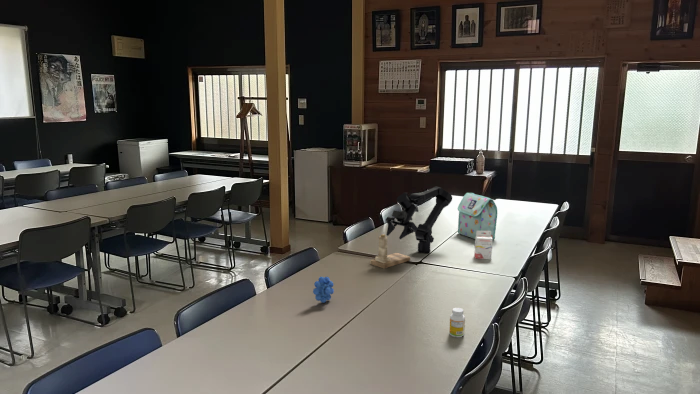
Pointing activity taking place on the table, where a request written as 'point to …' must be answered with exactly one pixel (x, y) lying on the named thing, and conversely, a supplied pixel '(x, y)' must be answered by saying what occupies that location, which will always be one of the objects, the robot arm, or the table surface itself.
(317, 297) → the blue knobbly wheel
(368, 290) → the table surface
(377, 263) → the oak board
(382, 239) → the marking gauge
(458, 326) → the supplement bottle
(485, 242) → the ink cartridge box
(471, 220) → the lunch bag
